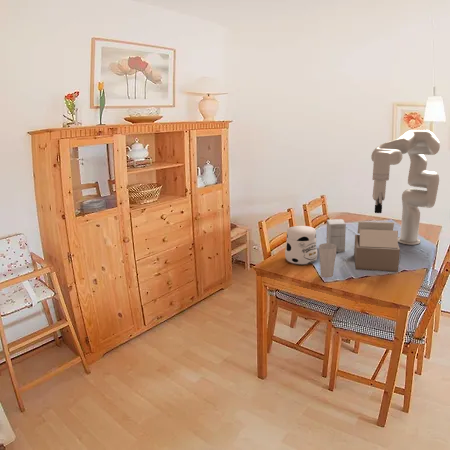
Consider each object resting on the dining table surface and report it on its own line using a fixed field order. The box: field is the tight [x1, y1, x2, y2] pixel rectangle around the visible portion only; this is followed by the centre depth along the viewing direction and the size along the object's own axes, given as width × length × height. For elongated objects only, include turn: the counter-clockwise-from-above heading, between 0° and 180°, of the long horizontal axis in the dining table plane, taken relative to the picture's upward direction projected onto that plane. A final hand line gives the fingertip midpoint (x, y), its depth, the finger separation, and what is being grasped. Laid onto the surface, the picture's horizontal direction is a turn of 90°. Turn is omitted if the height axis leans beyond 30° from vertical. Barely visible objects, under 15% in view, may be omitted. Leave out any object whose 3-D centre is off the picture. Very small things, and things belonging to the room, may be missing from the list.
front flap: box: [359, 229, 399, 248], centre depth 192 cm, size 8×18×1 cm
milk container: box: [284, 225, 319, 266], centre depth 209 cm, size 17×17×18 cm
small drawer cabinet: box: [326, 218, 347, 253], centre depth 224 cm, size 10×9×17 cm
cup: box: [318, 242, 337, 279], centre depth 191 cm, size 8×8×16 cm
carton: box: [353, 234, 401, 273], centre depth 203 cm, size 20×20×12 cm
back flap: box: [356, 221, 395, 235], centre depth 207 cm, size 8×18×1 cm
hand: (378, 212), depth 196 cm, fingers closed
